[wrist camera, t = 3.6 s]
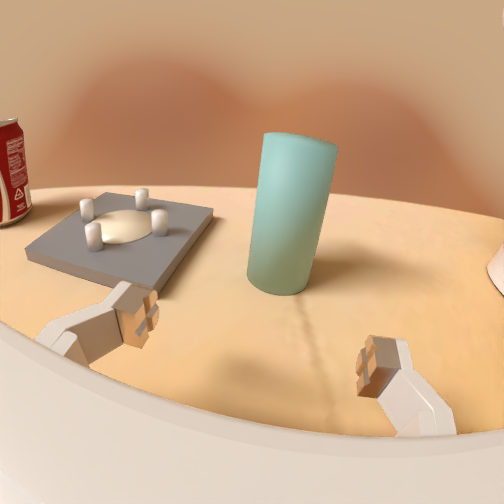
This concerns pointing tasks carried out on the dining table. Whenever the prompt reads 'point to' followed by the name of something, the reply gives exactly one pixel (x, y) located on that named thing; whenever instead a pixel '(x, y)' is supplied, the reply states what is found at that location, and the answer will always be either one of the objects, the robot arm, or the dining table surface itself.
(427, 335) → the dining table surface
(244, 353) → the dining table surface
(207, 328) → the dining table surface
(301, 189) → the teal post
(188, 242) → the dowel seat
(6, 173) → the soda can
